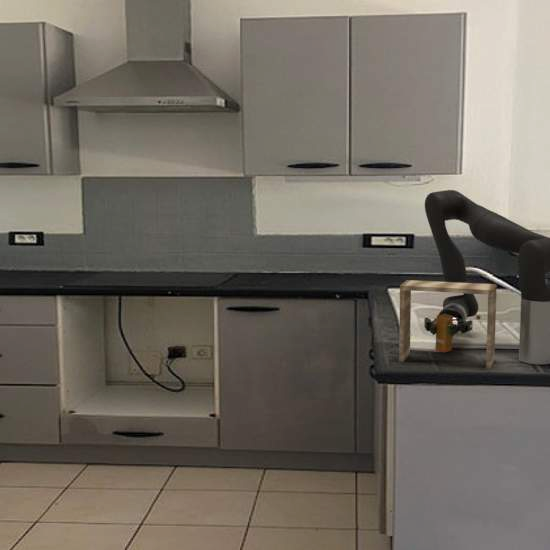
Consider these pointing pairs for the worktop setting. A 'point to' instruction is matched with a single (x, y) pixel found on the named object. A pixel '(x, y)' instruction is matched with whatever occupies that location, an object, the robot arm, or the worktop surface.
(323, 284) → the worktop surface
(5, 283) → the worktop surface
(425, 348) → the tile pad
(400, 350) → the shelf bay
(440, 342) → the supplement box
